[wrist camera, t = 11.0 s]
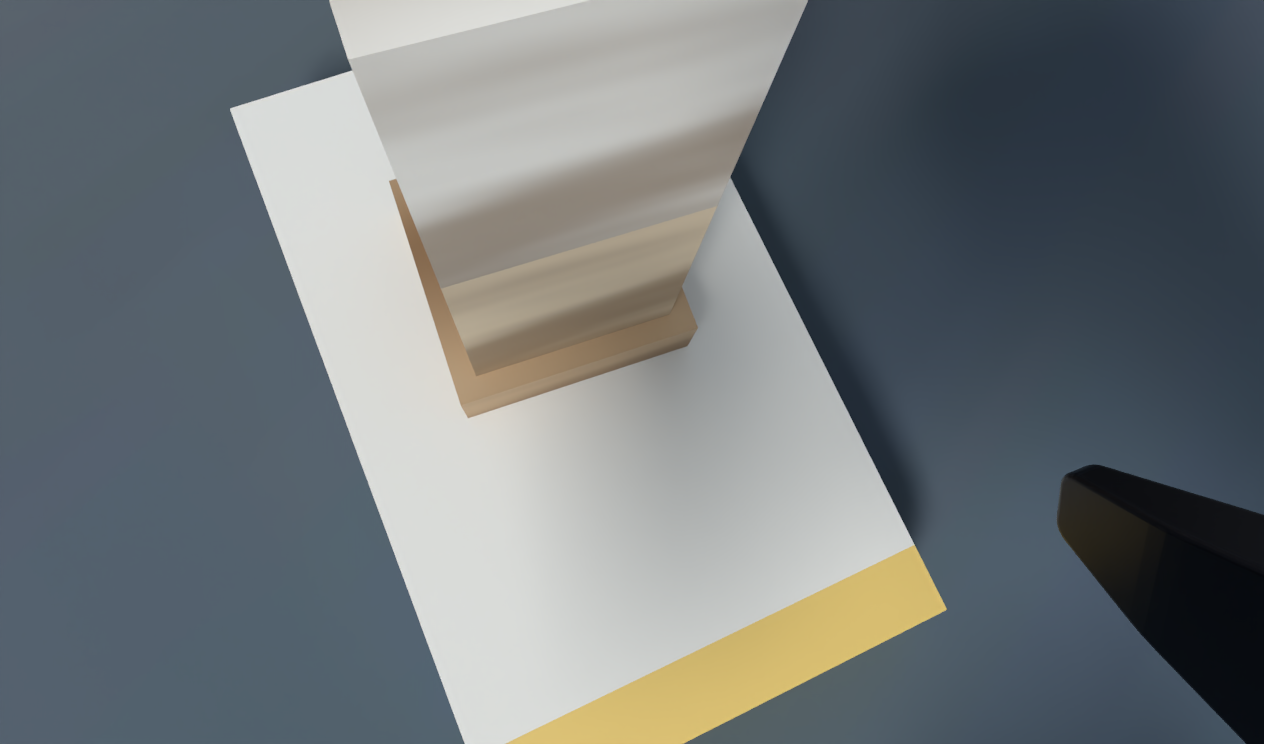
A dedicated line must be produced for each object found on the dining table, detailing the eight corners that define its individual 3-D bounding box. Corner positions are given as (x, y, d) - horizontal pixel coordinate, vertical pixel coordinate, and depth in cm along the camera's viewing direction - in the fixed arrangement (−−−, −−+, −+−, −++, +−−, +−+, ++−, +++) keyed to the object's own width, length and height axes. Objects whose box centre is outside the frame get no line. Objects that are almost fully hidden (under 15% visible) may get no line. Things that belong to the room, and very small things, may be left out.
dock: (893, 604, 21) (946, 609, 18) (507, 797, 19) (499, 836, 16) (623, 51, 25) (633, -17, 22) (271, 167, 23) (229, 108, 20)
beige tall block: (687, 346, 19) (903, -28, 7) (468, 418, 18) (303, 128, 6) (611, 151, 20) (691, -455, 8) (401, 209, 20) (152, -374, 8)
